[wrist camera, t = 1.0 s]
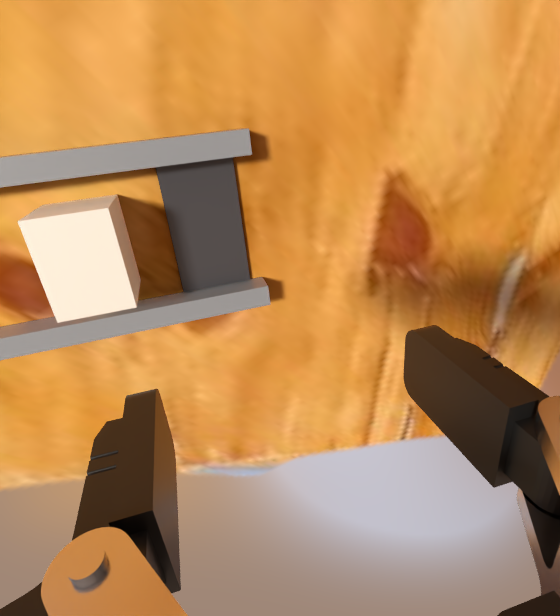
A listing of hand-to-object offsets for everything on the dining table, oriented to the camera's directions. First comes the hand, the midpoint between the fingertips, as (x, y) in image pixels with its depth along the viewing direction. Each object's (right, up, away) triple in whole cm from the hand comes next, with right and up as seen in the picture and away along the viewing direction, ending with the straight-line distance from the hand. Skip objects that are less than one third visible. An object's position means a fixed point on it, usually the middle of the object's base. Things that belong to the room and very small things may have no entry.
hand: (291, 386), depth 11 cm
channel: (-12, +7, +16) cm, 21 cm away
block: (-13, +6, +16) cm, 21 cm away
